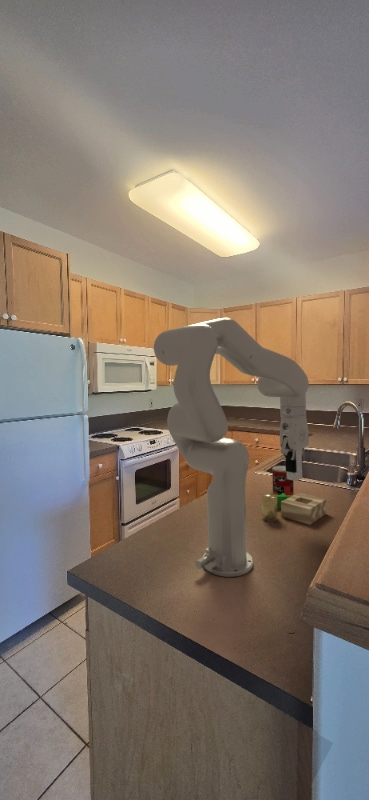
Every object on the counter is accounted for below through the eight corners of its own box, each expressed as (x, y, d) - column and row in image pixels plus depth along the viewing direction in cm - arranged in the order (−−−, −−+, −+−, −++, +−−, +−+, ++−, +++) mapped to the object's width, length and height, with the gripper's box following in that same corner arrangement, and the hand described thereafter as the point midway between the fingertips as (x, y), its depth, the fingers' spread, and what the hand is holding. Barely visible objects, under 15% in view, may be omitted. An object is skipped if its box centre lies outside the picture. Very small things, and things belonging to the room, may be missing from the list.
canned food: (269, 493, 134) (268, 466, 133) (286, 491, 136) (285, 464, 136) (279, 499, 127) (279, 471, 126) (297, 497, 129) (297, 469, 129)
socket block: (310, 524, 104) (309, 509, 104) (281, 516, 111) (281, 501, 111) (326, 513, 112) (326, 499, 112) (298, 506, 120) (298, 492, 119)
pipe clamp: (292, 505, 122) (292, 492, 121) (295, 509, 118) (295, 496, 118) (261, 505, 122) (261, 493, 122) (263, 509, 118) (263, 496, 118)
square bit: (296, 481, 101) (296, 448, 100) (286, 479, 103) (285, 447, 103) (302, 478, 103) (301, 446, 103) (292, 476, 106) (291, 445, 105)
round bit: (272, 522, 106) (271, 498, 106) (258, 518, 110) (258, 494, 110) (280, 518, 110) (279, 494, 109) (267, 514, 113) (266, 491, 113)
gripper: (290, 415, 94) (292, 479, 95) (316, 409, 105) (317, 466, 106) (267, 414, 99) (269, 474, 100) (294, 409, 110) (295, 463, 112)
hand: (294, 469), depth 103 cm, fingers closed on square bit, 3 cm apart
